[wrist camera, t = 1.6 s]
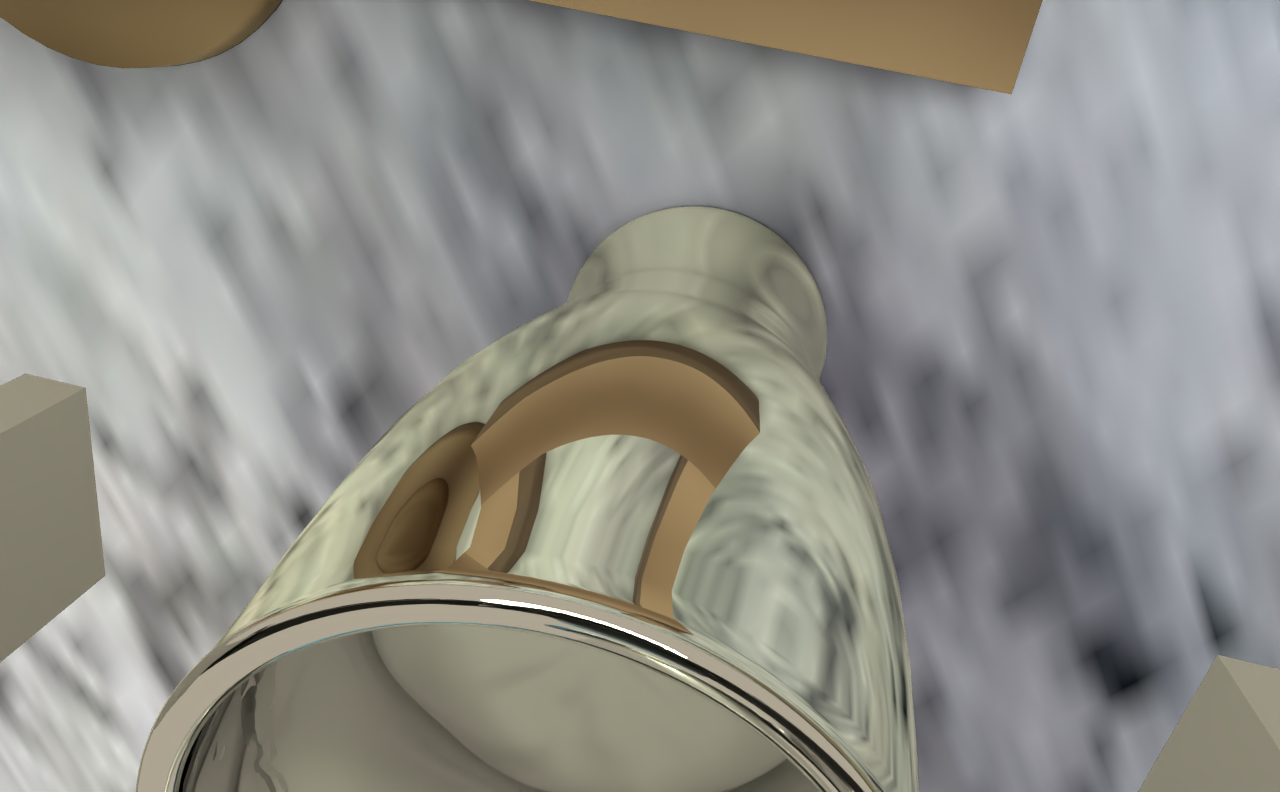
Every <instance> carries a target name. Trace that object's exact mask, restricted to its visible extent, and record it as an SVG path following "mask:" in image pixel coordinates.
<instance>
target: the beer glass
mask: <svg viewBox="0 0 1280 792" xmlns="http://www.w3.org/2000/svg"><path fill="white" fill-rule="evenodd" d="M826 350H827V321H826V314H825V309H824V305H823V301H822V298H821V295H820V292H819V289H818V287H817V285H816V282H815V280H814V278H813V276H812V275H811V273H810V271H809V270H808V268H807V266H806V265H805V264H804V262H803V261H802V259H801V258H800V257H799V256H798V254H797V253H796V252H795V251H794V250H793V249H792V248H791V247H790V246H789V245H788V244H787V243H786V242H785V241H784V240H783V239H782V238H780V237H779V236H778V235H777V234H775V233H774V232H773V231H771V230H770V229H768V228H767V227H765V226H763V225H762V224H760V223H758V222H756V221H754V220H752V219H750V218H748V217H745V216H743V215H740V214H737V213H734V212H731V211H727V210H723V209H718V208H711V207H700V206H688V207H676V208H669V209H664V210H660V211H656V212H653V213H650V214H647V215H644V216H641V217H639V218H637V219H634V220H632V221H630V222H628V223H627V224H625V225H623V226H622V227H620V228H619V229H617V230H616V231H614V232H613V233H612V234H610V235H609V236H608V237H607V238H606V239H605V240H603V241H602V242H601V243H600V244H599V245H598V247H597V248H596V249H595V250H594V251H593V252H592V253H591V255H590V256H589V257H588V259H587V260H586V262H585V263H584V265H583V266H582V268H581V270H580V271H579V273H578V275H577V277H576V279H575V281H574V283H573V286H572V288H571V291H570V294H569V297H568V301H567V304H565V305H563V306H561V307H559V308H556V309H554V310H552V311H550V312H548V313H546V314H544V315H541V316H539V317H537V318H535V319H533V320H531V321H529V322H527V323H525V324H523V325H521V326H520V327H518V328H516V329H515V330H513V331H511V332H510V333H508V334H507V335H505V336H503V337H502V338H500V339H498V340H497V341H495V342H494V343H492V344H490V345H489V346H487V347H486V348H484V349H482V350H481V351H479V352H478V353H476V354H474V355H473V356H471V357H470V358H468V359H467V360H466V361H464V362H463V363H461V364H460V365H459V366H458V367H456V368H455V369H454V370H452V371H451V372H450V373H449V374H448V375H447V376H446V377H445V378H443V379H442V380H441V381H440V382H439V383H438V384H437V385H436V386H435V387H433V388H432V389H431V390H430V391H429V392H428V393H427V394H426V395H425V396H423V397H422V398H421V399H420V400H419V401H418V402H417V403H416V404H415V405H414V406H412V407H411V408H410V409H409V410H408V411H407V412H406V413H405V414H404V415H402V416H401V417H400V418H399V419H398V420H397V421H396V422H395V423H394V424H393V425H392V426H391V427H390V428H389V430H388V431H387V432H386V433H385V434H384V435H383V436H382V437H381V439H380V440H379V441H378V442H377V443H376V444H375V445H374V446H373V447H372V449H371V450H370V451H369V452H368V453H367V454H366V455H365V456H364V458H363V459H362V460H361V461H360V462H359V463H358V464H357V465H356V466H355V468H354V469H353V470H352V471H351V472H350V473H349V474H348V475H347V477H346V478H345V479H344V480H343V481H342V482H341V483H340V485H339V486H338V487H337V488H336V489H335V491H334V492H333V493H332V494H331V496H330V497H329V498H328V499H327V501H326V502H325V503H324V504H323V506H322V507H321V508H320V510H319V511H318V512H317V513H316V515H315V516H314V517H313V519H312V520H311V521H310V522H309V524H308V525H307V526H306V527H305V529H304V530H303V531H302V533H301V534H300V535H299V536H298V538H297V539H296V540H295V541H294V543H293V544H292V545H291V547H290V548H289V549H288V550H287V552H286V553H285V554H284V555H283V557H282V558H281V559H280V561H279V562H278V564H277V565H276V566H275V568H274V569H273V570H272V572H271V573H270V574H269V576H268V577H267V579H266V580H265V581H264V583H263V584H262V585H261V587H260V588H259V589H258V591H257V592H256V593H255V595H254V596H253V598H252V599H251V600H250V602H249V603H248V604H247V606H246V607H245V608H244V610H243V611H242V612H241V614H240V615H239V616H238V618H237V619H236V620H235V622H234V623H233V624H232V625H231V627H230V628H229V629H228V631H227V632H226V633H225V635H224V636H223V637H222V638H221V640H220V641H219V642H218V643H217V645H216V646H215V647H214V648H213V649H212V651H210V652H209V653H208V654H207V655H206V656H205V657H203V658H202V659H201V660H200V661H199V662H198V663H197V664H196V665H195V666H194V667H193V668H192V669H191V670H190V671H189V673H188V674H187V675H186V676H185V677H184V678H183V679H182V680H181V682H180V683H179V684H178V686H177V687H176V688H175V689H174V691H173V692H172V694H171V695H170V697H169V698H168V700H167V701H166V702H165V704H164V706H163V708H162V709H161V711H160V713H159V715H158V717H157V718H156V721H155V723H154V725H153V727H152V729H151V731H150V734H149V736H148V739H147V742H146V744H145V748H144V751H143V754H142V758H141V762H140V766H139V771H138V777H137V784H136V792H919V785H918V763H917V746H916V733H915V719H914V706H913V692H912V679H911V669H910V660H909V653H908V646H907V639H906V632H905V625H904V617H903V610H902V603H901V596H900V589H899V583H898V578H897V573H896V569H895V565H894V561H893V557H892V553H891V549H890V545H889V541H888V537H887V533H886V529H885V525H884V521H883V517H882V513H881V509H880V506H879V502H878V499H877V496H876V493H875V490H874V487H873V485H872V482H871V480H870V478H869V475H868V473H867V471H866V468H865V466H864V464H863V462H862V460H861V458H860V455H859V453H858V451H857V449H856V447H855V444H854V442H853V440H852V438H851V436H850V433H849V431H848V429H847V427H846V425H845V423H844V421H843V419H842V418H841V416H840V414H839V412H838V411H837V409H836V407H835V406H834V404H833V402H832V401H831V399H830V397H829V396H828V394H827V393H826V391H825V389H824V388H823V386H822V384H821V383H820V381H819V380H820V377H821V373H822V370H823V366H824V362H825V357H826Z"/></svg>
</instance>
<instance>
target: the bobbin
mask: <svg viewBox="0 0 1280 792" xmlns="http://www.w3.org/2000/svg"><path fill="white" fill-rule="evenodd" d="M281 1H282V0H0V17H2V18H3V19H4V20H6V21H7V22H8V23H10V24H11V25H13V26H14V27H15V28H17V29H18V30H19V31H21V32H22V33H24V34H25V35H27V36H29V37H31V38H32V39H34V40H36V41H38V42H39V43H41V44H43V45H45V46H46V47H48V48H51V49H53V50H55V51H58V52H60V53H62V54H65V55H67V56H69V57H72V58H75V59H78V60H82V61H86V62H89V63H93V64H96V65H103V66H110V67H118V68H150V67H164V66H177V65H182V64H188V63H194V62H199V61H202V60H204V59H207V58H210V57H213V56H216V55H219V54H221V53H223V52H224V51H226V50H228V49H230V48H232V47H233V46H235V45H237V44H239V43H241V42H242V41H243V40H244V39H246V38H247V37H248V36H249V35H251V34H252V33H253V32H254V31H256V30H257V29H258V28H259V27H260V26H261V25H262V24H263V23H264V22H265V21H266V20H267V18H268V17H269V16H270V15H271V14H272V13H273V12H274V11H275V10H276V8H277V7H278V5H279V4H280V2H281Z"/></svg>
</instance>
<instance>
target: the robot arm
mask: <svg viewBox="0 0 1280 792" xmlns="http://www.w3.org/2000/svg"><path fill="white" fill-rule="evenodd" d="M104 576H105V568H104V558H103V549H102V540H101V530H100V521H99V511H98V502H97V492H96V483H95V473H94V464H93V454H92V445H91V435H90V426H89V417H88V407H87V398H86V388H84V387H80V386H76V385H72V384H67V383H63V382H59V381H55V380H50V379H46V378H42V377H38V376H33V375H29V374H24V375H22V376H20V377H18V378H16V379H14V380H11V381H9V382H7V383H5V384H3V385H1V386H0V662H1V661H3V660H4V659H5V658H6V657H7V656H9V655H10V654H11V653H12V652H13V651H15V650H16V649H17V648H18V647H19V646H21V645H22V644H23V643H24V642H26V641H27V640H28V639H29V638H30V637H32V636H33V635H34V634H35V633H36V632H38V631H39V630H40V629H41V628H42V627H44V626H45V625H46V624H47V623H48V622H50V621H51V620H52V619H53V618H55V617H56V616H57V615H58V614H59V613H61V612H62V611H63V610H64V609H65V608H67V607H68V606H69V605H70V604H71V603H73V602H74V601H75V600H76V599H77V598H79V597H80V596H81V595H82V594H84V593H85V592H86V591H87V590H88V589H90V588H91V587H92V586H93V585H94V584H96V583H97V582H98V581H99V580H100V579H102V578H103V577H104ZM1138 792H1280V669H1276V668H1271V667H1267V666H1263V665H1259V664H1254V663H1250V662H1246V661H1242V660H1237V659H1233V658H1229V657H1225V656H1220V655H1217V657H1216V658H1215V660H1214V662H1213V664H1212V665H1211V667H1210V669H1209V670H1208V672H1207V674H1206V676H1205V677H1204V679H1203V681H1202V682H1201V684H1200V686H1199V688H1198V689H1197V691H1196V693H1195V695H1194V696H1193V698H1192V700H1191V701H1190V703H1189V705H1188V707H1187V708H1186V710H1185V712H1184V714H1183V715H1182V717H1181V719H1180V720H1179V722H1178V724H1177V726H1176V727H1175V729H1174V731H1173V732H1172V734H1171V736H1170V738H1169V739H1168V741H1167V743H1166V745H1165V746H1164V748H1163V750H1162V751H1161V753H1160V755H1159V757H1158V758H1157V760H1156V762H1155V764H1154V765H1153V767H1152V769H1151V770H1150V772H1149V774H1148V776H1147V777H1146V779H1145V781H1144V783H1143V784H1142V786H1141V788H1140V789H1139V791H1138Z"/></svg>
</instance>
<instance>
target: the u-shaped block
mask: <svg viewBox="0 0 1280 792" xmlns="http://www.w3.org/2000/svg"><path fill="white" fill-rule="evenodd" d="M529 1H534V2H540V3H545V4H550V5H555V6H560V7H565V8H570V9H576V10H581V11H586V12H591V13H596V14H601V15H607V16H612V17H617V18H622V19H627V20H632V21H637V22H643V23H648V24H653V25H658V26H663V27H668V28H673V29H679V30H684V31H689V32H694V33H699V34H704V35H709V36H715V37H720V38H725V39H730V40H735V41H740V42H745V43H751V44H756V45H761V46H766V47H771V48H776V49H781V50H787V51H792V52H797V53H802V54H807V55H812V56H817V57H823V58H828V59H833V60H838V61H843V62H848V63H853V64H859V65H864V66H869V67H874V68H879V69H884V70H889V71H895V72H900V73H905V74H910V75H915V76H920V77H925V78H931V79H936V80H941V81H946V82H951V83H956V84H961V85H967V86H972V87H977V88H982V89H987V90H992V91H997V92H1003V93H1008V94H1012V91H1013V88H1014V85H1015V82H1016V79H1017V76H1018V73H1019V70H1020V67H1021V64H1022V61H1023V58H1024V55H1025V52H1026V49H1027V46H1028V43H1029V40H1030V37H1031V34H1032V31H1033V28H1034V25H1035V22H1036V19H1037V16H1038V13H1039V9H1040V6H1041V3H1042V0H529Z"/></svg>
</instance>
